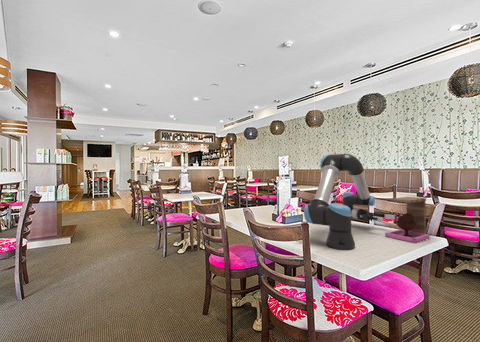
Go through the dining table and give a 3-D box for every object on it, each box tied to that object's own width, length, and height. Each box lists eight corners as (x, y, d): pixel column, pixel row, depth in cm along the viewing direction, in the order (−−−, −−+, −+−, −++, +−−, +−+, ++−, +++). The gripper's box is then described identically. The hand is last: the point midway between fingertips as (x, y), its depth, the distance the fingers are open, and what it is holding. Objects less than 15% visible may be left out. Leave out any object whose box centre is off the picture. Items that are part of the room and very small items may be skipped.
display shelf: (410, 242, 141) (409, 200, 142) (391, 237, 151) (390, 198, 151) (428, 237, 151) (427, 198, 151) (408, 233, 161) (408, 196, 161)
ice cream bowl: (410, 234, 156) (409, 211, 156) (421, 239, 144) (420, 214, 145) (393, 234, 157) (392, 211, 157) (402, 239, 146) (402, 214, 146)
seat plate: (415, 243, 139) (414, 238, 139) (385, 236, 154) (385, 232, 154) (429, 238, 147) (429, 234, 147) (400, 233, 162) (399, 229, 162)
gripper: (370, 217, 185) (399, 222, 166) (348, 221, 173) (377, 226, 154) (369, 207, 185) (399, 211, 166) (348, 210, 173) (377, 214, 154)
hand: (388, 218), depth 160 cm, fingers open, 13 cm apart
